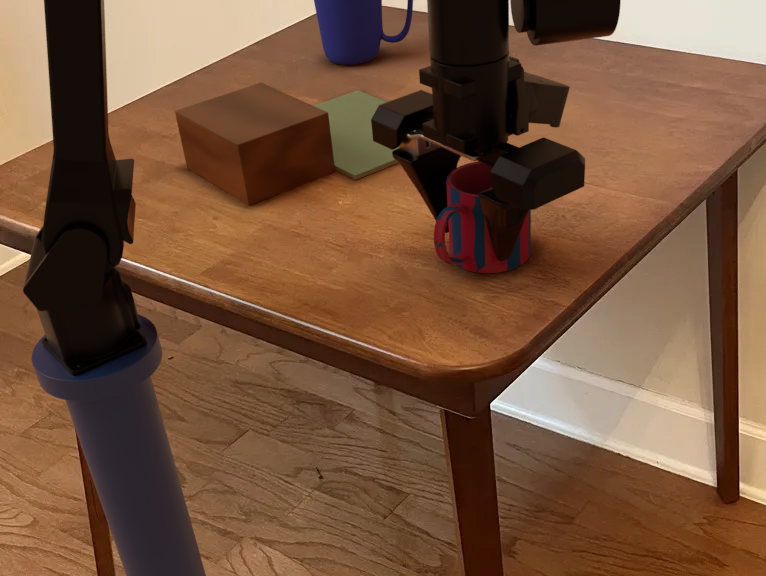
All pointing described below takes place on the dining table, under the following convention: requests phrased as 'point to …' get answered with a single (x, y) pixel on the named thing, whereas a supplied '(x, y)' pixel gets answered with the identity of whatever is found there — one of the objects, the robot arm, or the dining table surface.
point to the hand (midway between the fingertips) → (475, 244)
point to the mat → (356, 135)
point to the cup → (474, 225)
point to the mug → (354, 29)
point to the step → (256, 142)
